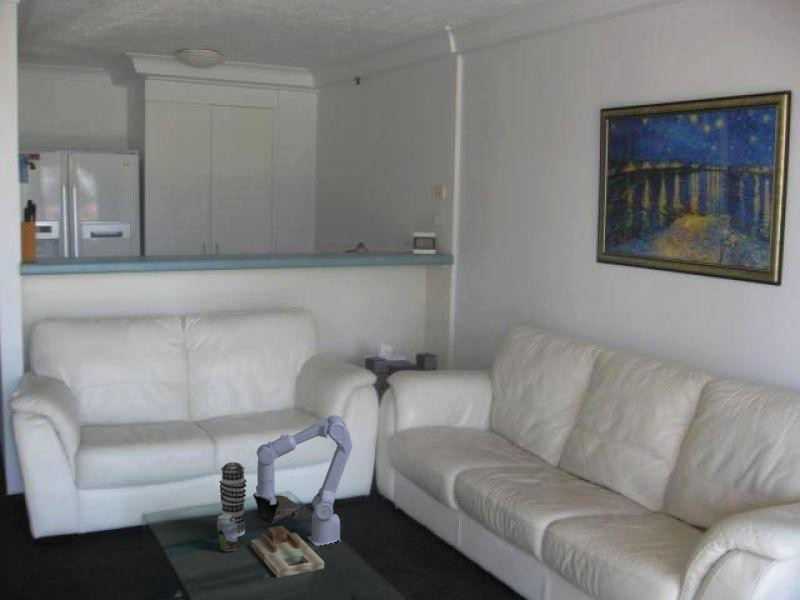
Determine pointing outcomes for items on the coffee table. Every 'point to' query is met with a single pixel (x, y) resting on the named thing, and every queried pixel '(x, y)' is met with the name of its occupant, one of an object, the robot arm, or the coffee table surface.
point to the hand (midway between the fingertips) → (266, 517)
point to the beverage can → (227, 532)
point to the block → (277, 534)
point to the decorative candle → (233, 494)
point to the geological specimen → (285, 509)
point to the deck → (287, 555)
